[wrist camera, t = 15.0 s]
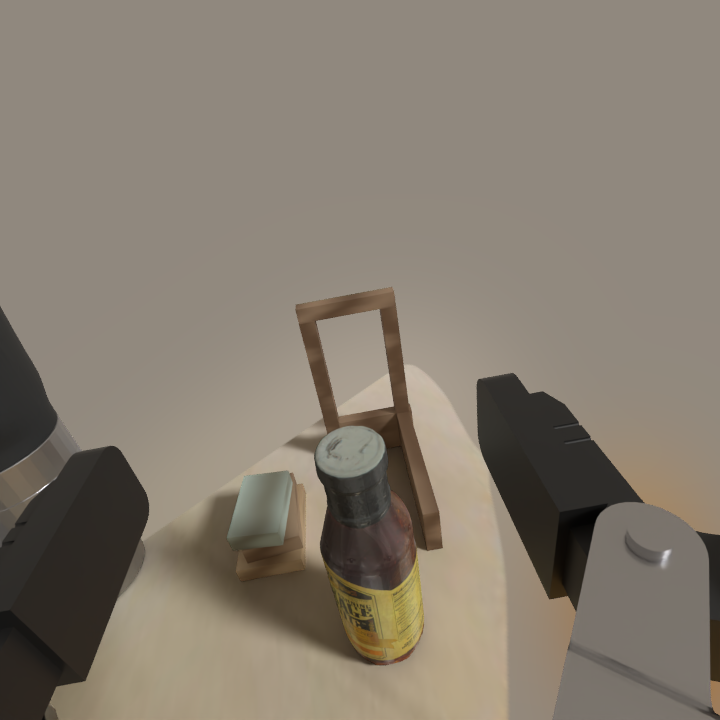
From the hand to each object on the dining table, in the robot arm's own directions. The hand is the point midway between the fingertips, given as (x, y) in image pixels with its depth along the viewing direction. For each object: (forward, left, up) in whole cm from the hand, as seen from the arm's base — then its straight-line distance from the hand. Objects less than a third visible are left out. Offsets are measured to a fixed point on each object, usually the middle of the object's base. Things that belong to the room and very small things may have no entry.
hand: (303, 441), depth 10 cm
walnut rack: (+1, +25, -30) cm, 39 cm away
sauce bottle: (0, +11, -30) cm, 32 cm away
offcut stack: (-10, +22, -30) cm, 39 cm away
